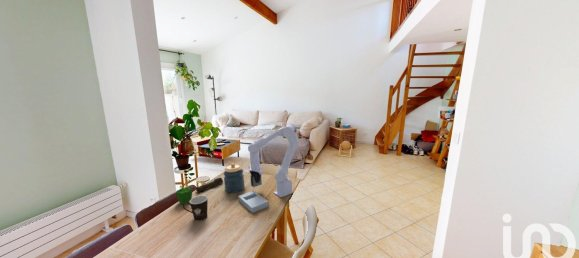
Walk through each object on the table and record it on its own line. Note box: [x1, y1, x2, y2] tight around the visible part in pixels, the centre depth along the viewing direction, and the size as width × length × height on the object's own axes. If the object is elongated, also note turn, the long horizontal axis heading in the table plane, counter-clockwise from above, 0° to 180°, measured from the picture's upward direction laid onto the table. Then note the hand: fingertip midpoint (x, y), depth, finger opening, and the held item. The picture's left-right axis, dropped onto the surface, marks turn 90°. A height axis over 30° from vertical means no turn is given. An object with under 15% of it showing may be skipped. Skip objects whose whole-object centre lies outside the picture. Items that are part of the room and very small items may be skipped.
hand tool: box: [195, 177, 224, 194], centre depth 145 cm, size 19×4×5 cm, turn 137°
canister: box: [222, 162, 245, 193], centre depth 141 cm, size 13×13×18 cm
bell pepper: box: [175, 185, 193, 205], centre depth 126 cm, size 8×8×10 cm
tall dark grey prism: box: [250, 174, 263, 188], centre depth 135 cm, size 6×3×7 cm, turn 128°
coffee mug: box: [182, 194, 209, 222], centre depth 110 cm, size 12×9×10 cm
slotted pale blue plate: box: [238, 190, 269, 214], centre depth 122 cm, size 10×17×3 cm, turn 38°
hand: (256, 181), depth 136 cm, fingers closed on tall dark grey prism, 3 cm apart
